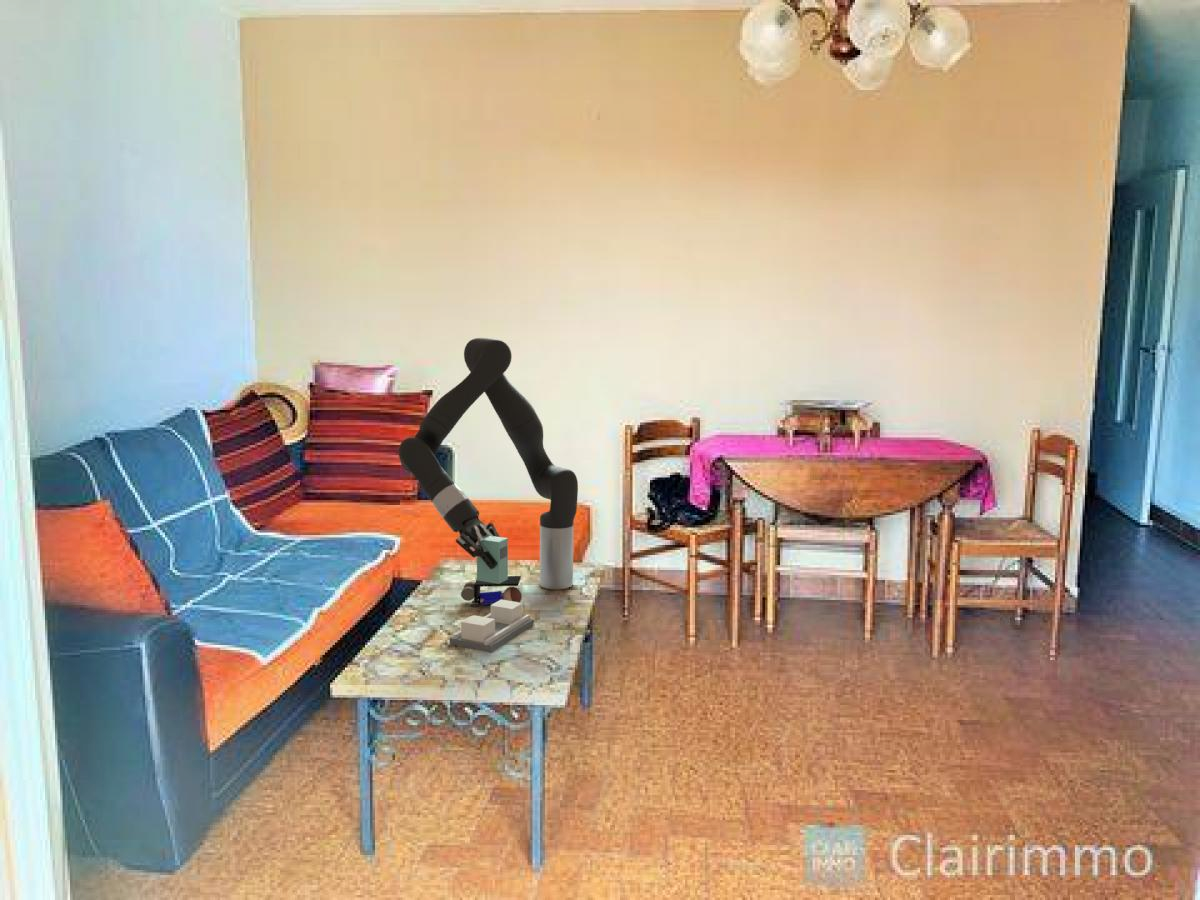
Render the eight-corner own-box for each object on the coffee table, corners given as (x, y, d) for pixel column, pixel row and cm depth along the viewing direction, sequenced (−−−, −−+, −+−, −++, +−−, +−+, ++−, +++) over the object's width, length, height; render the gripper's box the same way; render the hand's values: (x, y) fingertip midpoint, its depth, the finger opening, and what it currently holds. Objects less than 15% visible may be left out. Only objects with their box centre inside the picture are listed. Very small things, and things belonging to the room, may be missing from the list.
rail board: (494, 618, 237) (494, 608, 236) (533, 625, 232) (533, 615, 232) (449, 644, 219) (449, 633, 219) (490, 652, 214) (490, 641, 214)
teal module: (485, 575, 226) (485, 535, 225) (508, 579, 224) (508, 538, 222) (476, 580, 223) (476, 538, 221) (499, 584, 220) (499, 542, 219)
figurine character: (462, 614, 244) (521, 609, 243) (458, 585, 243) (518, 580, 242) (466, 605, 250) (523, 600, 250) (463, 577, 249) (520, 572, 249)
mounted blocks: (501, 614, 235) (501, 599, 234) (522, 618, 232) (522, 603, 232) (461, 638, 219) (461, 621, 218) (483, 642, 216) (483, 625, 215)
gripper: (448, 504, 217) (493, 562, 214) (481, 492, 230) (524, 547, 227) (428, 523, 220) (473, 581, 217) (462, 511, 233) (505, 566, 230)
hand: (499, 564), depth 222 cm, fingers closed on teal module, 4 cm apart
